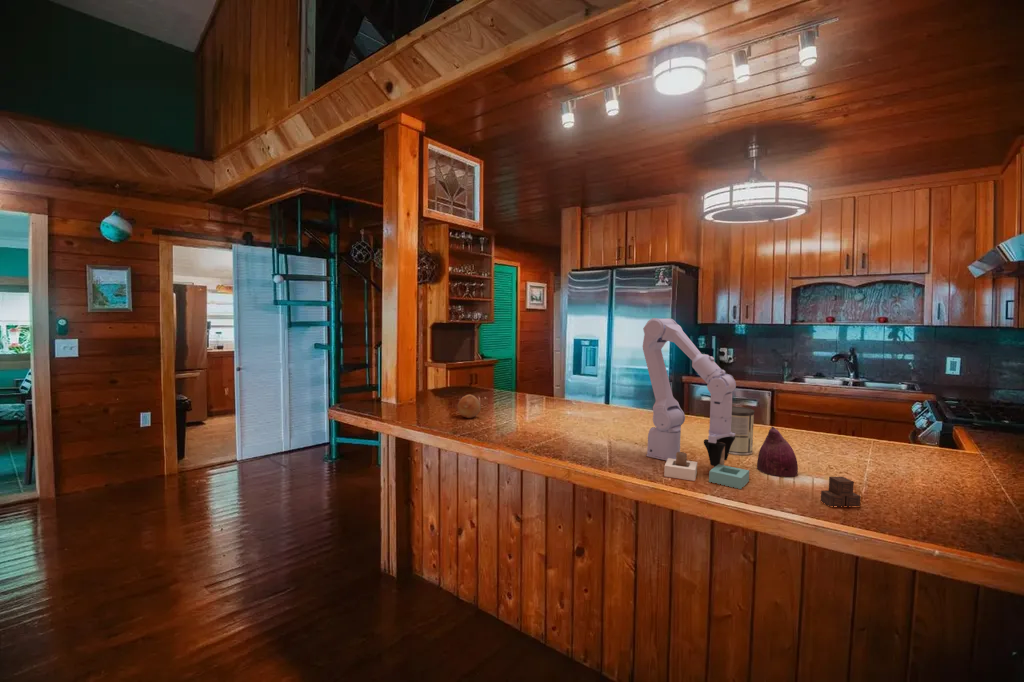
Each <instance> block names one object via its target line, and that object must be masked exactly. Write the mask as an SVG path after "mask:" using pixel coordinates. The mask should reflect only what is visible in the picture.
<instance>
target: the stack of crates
mask: <svg viewBox="0 0 1024 682" xmlns="http://www.w3.org/2000/svg"><path fill="white" fill-rule="evenodd" d="M854 483H855V482H854V481H853V480H851V479H849V478H846V477H844V476H829V478H828V490H821V491H820V502H821V501H822V502H823V503H822V502H821V503H822V504H824V503H825V504H827V505H829V506H833V507H834V506H837V507H841V506H842V507H844V506H847V507H849V506H860V507H861V495H860V494H858V493H855V492H854ZM825 504H824V505H825ZM827 505H826V506H827ZM829 506H828V507H829Z"/></svg>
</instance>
